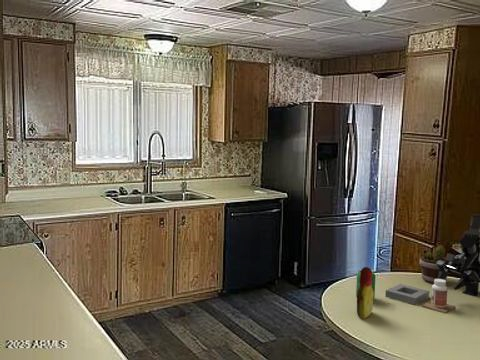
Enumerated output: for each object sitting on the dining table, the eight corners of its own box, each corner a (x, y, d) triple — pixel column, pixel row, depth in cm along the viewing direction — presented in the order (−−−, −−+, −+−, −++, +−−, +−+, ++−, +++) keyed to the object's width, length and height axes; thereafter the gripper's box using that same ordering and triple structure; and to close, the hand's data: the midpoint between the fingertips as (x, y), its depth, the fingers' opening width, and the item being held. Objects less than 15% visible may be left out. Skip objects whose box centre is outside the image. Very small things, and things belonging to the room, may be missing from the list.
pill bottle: (449, 306, 208) (451, 281, 207) (440, 309, 205) (442, 283, 204) (436, 302, 213) (438, 277, 212) (427, 304, 210) (429, 279, 209)
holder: (400, 289, 231) (400, 283, 231) (429, 297, 221) (429, 291, 221) (385, 296, 221) (385, 290, 221) (415, 304, 211) (415, 298, 211)
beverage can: (354, 300, 216) (355, 273, 215) (357, 294, 223) (358, 269, 222) (373, 302, 213) (374, 276, 212) (375, 297, 220) (376, 271, 219)
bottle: (368, 321, 192) (371, 272, 190) (352, 318, 194) (354, 269, 192) (374, 311, 202) (377, 264, 200) (359, 309, 205) (361, 262, 203)
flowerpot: (412, 277, 252) (414, 238, 250) (440, 276, 254) (443, 238, 252) (426, 285, 238) (428, 245, 236) (456, 285, 239) (458, 245, 237)
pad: (431, 301, 216) (431, 300, 216) (454, 307, 209) (454, 306, 209) (421, 306, 209) (421, 305, 209) (445, 313, 202) (445, 311, 202)
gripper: (440, 242, 219) (420, 268, 216) (475, 252, 202) (454, 281, 199) (451, 257, 223) (432, 284, 220) (487, 268, 206) (467, 297, 203)
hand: (445, 286), depth 210 cm, fingers open, 9 cm apart
